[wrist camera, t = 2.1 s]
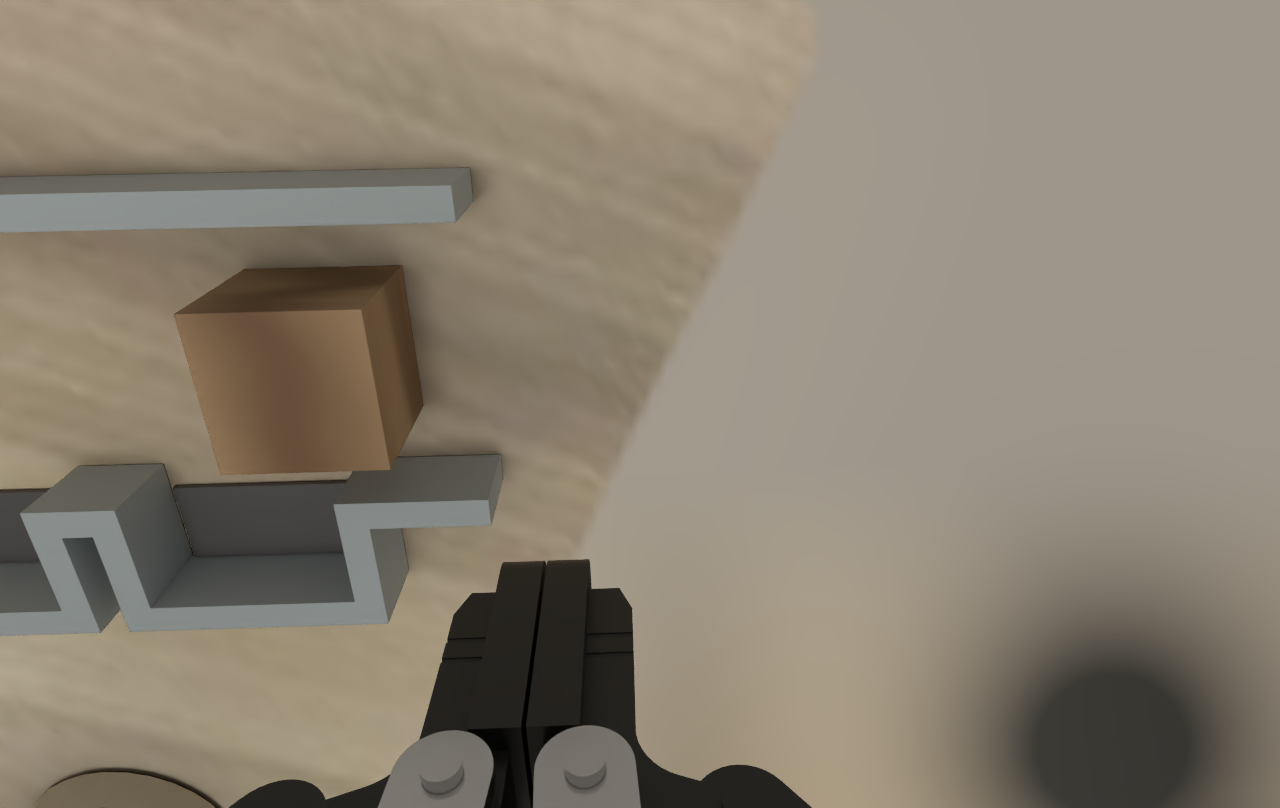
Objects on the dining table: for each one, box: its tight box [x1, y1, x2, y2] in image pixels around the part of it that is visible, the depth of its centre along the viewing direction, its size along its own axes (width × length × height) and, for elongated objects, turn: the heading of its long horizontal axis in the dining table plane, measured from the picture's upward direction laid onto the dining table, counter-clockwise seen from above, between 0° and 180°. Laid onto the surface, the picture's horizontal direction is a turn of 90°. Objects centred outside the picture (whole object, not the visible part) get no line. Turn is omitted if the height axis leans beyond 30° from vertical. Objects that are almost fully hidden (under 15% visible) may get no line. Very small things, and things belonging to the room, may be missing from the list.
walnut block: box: [174, 265, 424, 475], centre depth 24 cm, size 5×5×4 cm
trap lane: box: [0, 168, 503, 636], centre depth 25 cm, size 23×15×3 cm, turn 91°
